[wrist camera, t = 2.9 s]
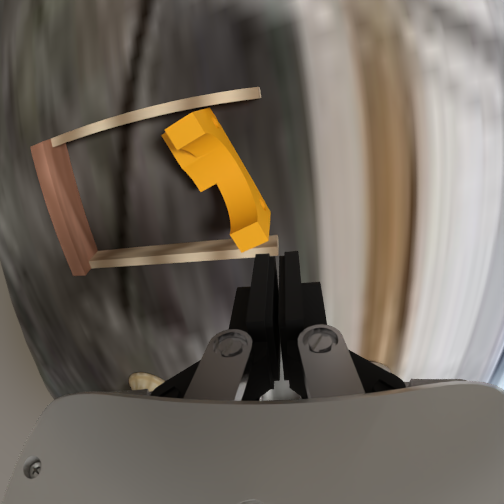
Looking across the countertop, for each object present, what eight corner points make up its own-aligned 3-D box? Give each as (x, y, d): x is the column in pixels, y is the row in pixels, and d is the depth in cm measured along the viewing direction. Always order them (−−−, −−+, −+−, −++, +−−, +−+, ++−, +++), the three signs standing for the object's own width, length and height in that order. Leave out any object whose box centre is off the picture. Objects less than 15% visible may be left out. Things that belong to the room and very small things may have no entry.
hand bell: (121, 370, 47) (88, 446, 33) (163, 372, 46) (134, 457, 32) (140, 398, 51) (115, 469, 37) (180, 401, 50) (159, 478, 36)
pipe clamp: (172, 130, 28) (147, 141, 22) (210, 107, 27) (192, 112, 21) (233, 229, 33) (223, 260, 27) (270, 211, 31) (268, 240, 26)
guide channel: (259, 87, 25) (256, 86, 22) (278, 243, 33) (278, 263, 29) (51, 138, 29) (30, 146, 25) (88, 258, 36) (73, 275, 33)
